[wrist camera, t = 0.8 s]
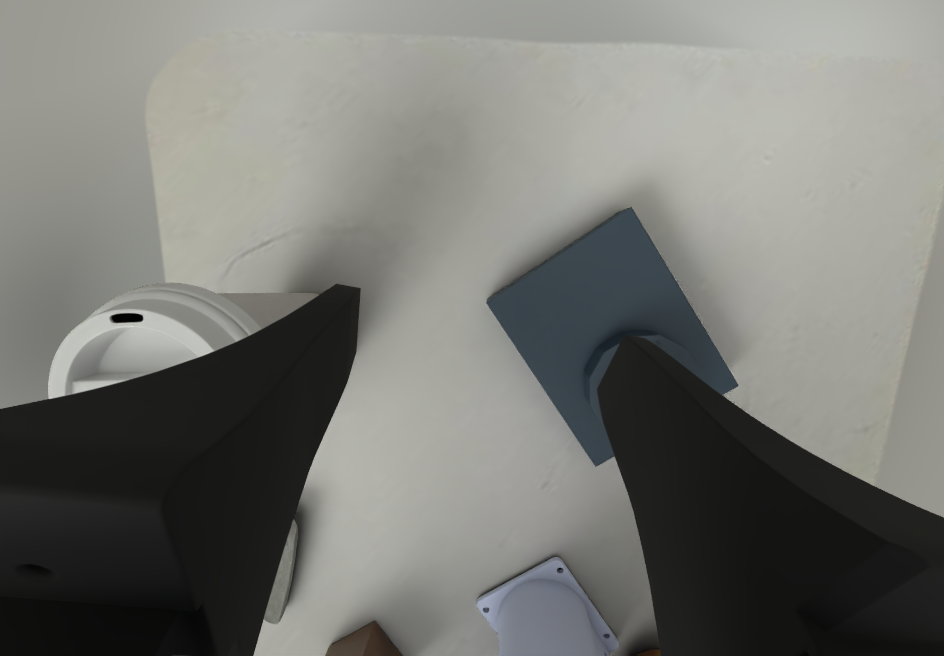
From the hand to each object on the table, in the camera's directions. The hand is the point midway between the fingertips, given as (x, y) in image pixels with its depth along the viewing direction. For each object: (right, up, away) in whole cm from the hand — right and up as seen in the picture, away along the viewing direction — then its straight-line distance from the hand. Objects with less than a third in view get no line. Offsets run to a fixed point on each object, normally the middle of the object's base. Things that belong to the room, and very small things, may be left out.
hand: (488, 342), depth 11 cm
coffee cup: (-12, 0, +20) cm, 24 cm away
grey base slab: (+9, 0, +19) cm, 21 cm away
